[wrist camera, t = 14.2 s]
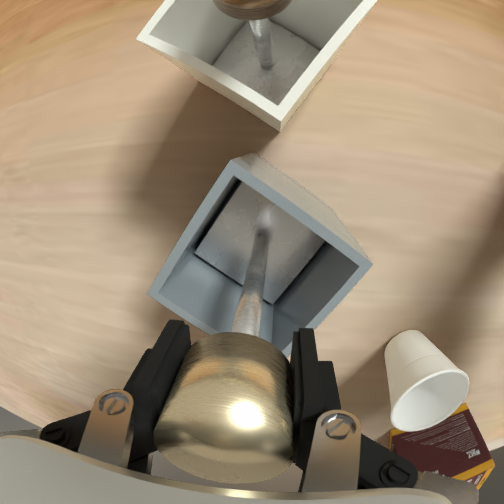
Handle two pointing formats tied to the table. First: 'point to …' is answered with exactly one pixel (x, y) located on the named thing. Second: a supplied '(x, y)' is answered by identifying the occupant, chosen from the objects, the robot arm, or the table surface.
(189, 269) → the grey open box
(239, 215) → the brass knobbed plunger
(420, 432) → the supplement box
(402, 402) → the cup
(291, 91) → the white open box
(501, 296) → the table surface
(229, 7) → the bronze knobbed rod
